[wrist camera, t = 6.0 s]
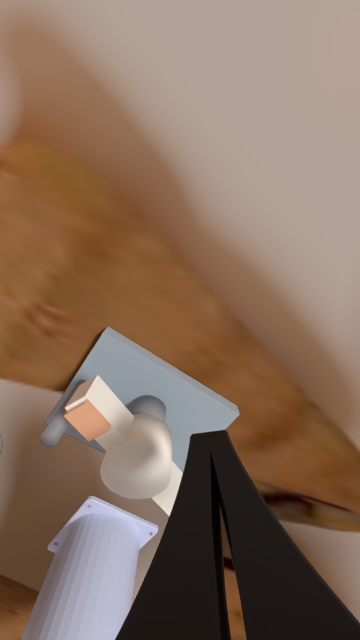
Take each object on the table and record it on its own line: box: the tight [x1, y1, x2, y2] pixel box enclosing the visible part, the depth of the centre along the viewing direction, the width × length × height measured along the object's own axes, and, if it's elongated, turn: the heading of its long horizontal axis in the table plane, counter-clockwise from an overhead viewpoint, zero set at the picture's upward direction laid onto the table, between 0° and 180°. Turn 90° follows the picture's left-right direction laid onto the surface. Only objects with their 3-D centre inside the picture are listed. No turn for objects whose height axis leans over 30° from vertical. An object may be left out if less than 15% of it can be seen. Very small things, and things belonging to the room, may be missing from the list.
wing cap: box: [64, 375, 183, 516], centre depth 15 cm, size 11×4×3 cm, turn 33°
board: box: [40, 327, 240, 473], centre depth 17 cm, size 10×12×6 cm
